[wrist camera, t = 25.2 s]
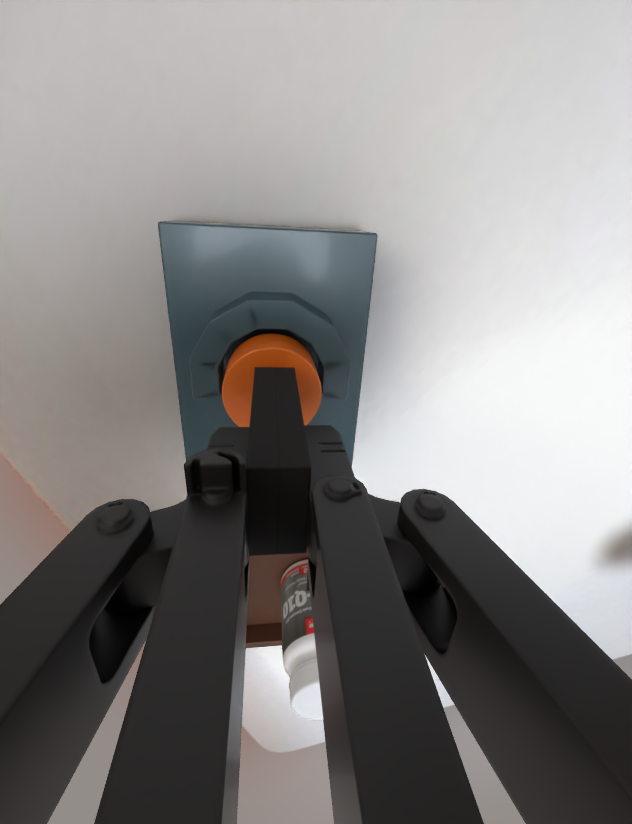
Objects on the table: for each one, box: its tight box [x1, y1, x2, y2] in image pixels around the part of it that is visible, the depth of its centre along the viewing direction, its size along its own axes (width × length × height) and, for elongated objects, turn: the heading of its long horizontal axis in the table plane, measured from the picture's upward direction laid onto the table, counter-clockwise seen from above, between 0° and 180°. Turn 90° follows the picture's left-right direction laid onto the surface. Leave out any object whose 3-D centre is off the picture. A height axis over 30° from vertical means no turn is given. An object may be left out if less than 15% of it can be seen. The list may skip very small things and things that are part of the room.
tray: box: [246, 547, 308, 648], centre depth 29 cm, size 13×11×2 cm
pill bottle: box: [281, 559, 323, 720], centre depth 26 cm, size 5×5×8 cm
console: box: [158, 221, 378, 466], centre depth 19 cm, size 12×9×5 cm
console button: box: [222, 333, 322, 427], centre depth 16 cm, size 4×4×2 cm
